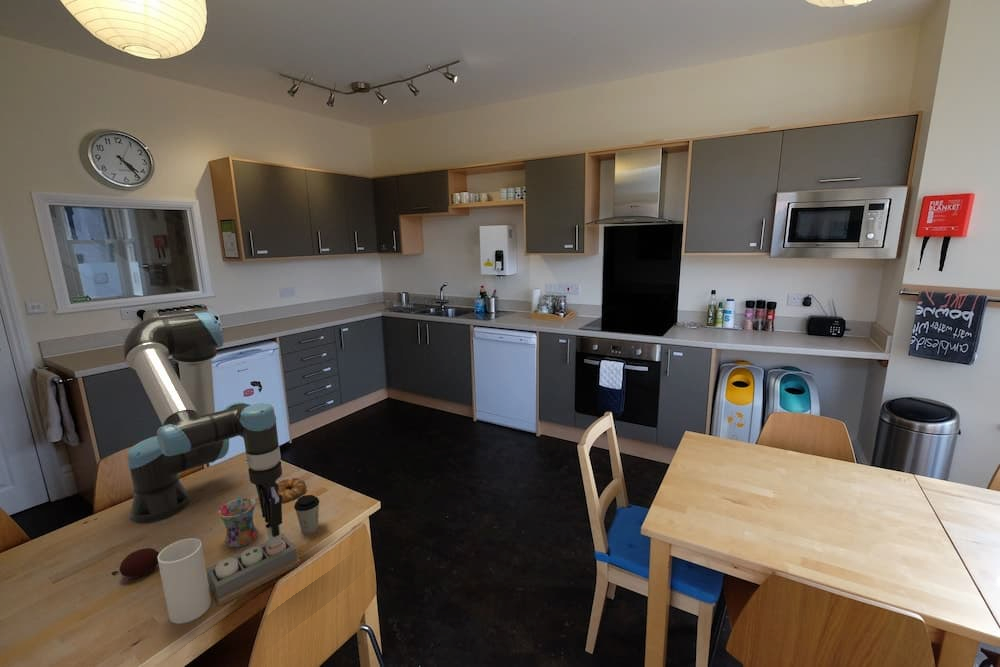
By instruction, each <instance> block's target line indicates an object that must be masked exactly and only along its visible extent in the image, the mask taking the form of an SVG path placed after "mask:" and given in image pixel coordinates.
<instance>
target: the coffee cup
mask: <svg viewBox="0 0 1000 667" xmlns="http://www.w3.org/2000/svg"><path fill="white" fill-rule="evenodd" d="M319 505H320V499H319V498H318V497H317V496H315V495H313V494H307V495H306V494H305V495H302V496H299V497H298V498H297V500H296V502H295V503H294V507H293V508H294V510H295V512H296V516H297V519H298V520H297V521H298V524H299V528H300V531H301V533H302V534H303V535H311V534H314V533H315V532H317V530H319V509H320V507H319Z"/></svg>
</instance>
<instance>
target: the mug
mask: <svg viewBox="0 0 1000 667" xmlns="http://www.w3.org/2000/svg"><path fill="white" fill-rule="evenodd" d="M256 504H257V503H256V500H255V499H253V498H252V497H251V498H249V497H241V498H237V499H234V500H231V501H229V502H226V503H225V504H223V505H222V506H221V507H220V508H219V509H218V511H217V514H218V516H219V517H220V518H221V520H222V522H223V523H224V525H225V530H226V536H225V539H224V545H225V546H227V547H229V548H239V547H244V546H246V545H248V544H249V543H251V542H253V541H254V540H255V539H256V538H257V537H258V536H259V535H258V534H259V530H258V529H257V527H256V526H255V524H254V520H253V519H254V510H255V507H256Z"/></svg>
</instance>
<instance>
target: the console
mask: <svg viewBox="0 0 1000 667" xmlns="http://www.w3.org/2000/svg"><path fill="white" fill-rule="evenodd" d="M281 540H284V541H285V543H286V549H285V550H283V551H281V552H279V553H276V554H274V555H272V556H270V557H268V555H267V554H266V546H267V545H268V544H269V540H266V541H264V542H262V543H259V544H257V545H255V546H254V547H261V548H262V553H263V560H262V561H260V562H258V563H256V564H254V565H251V566H249V567H247V568H245V569H244V568H243V566H242V560H241V554H242V553H243V552H244V551H241V552H239V553H238V554H235V555H233V556H230V558H236V559H237V561H238V568H239V572H237V573H235V574H233V575H231V576H229V577H226V578H224V579H222V580H220V581H217V577H216V571H215V567H216V565H217V564H218V563H219V562H217V563H216V564H213V565H211V566H209V567H206V572H207V578H208V584H209V589H210V591H211V593H212V594H213V597H214V598H215V601H216V602H217V605H218V606H219V607H221V606H223V605H225V604H227V603H229V602H231V601H233V600H234V599H237V598H239V597H240V596H243V595H244V594H247V593H249V592H250V591H252V590H254V589H256V588H258V587H260V586H261V585H263V584H266V583H268V582H270V581H272V580H274V579H275V578H277V577H279V576H282V575H283V574H285V573H287V572H289V571H291V570H293V569H295V568H296V567H299V566H300V564H301V560H300V559H299V558H298V556H297V555H298V554H297V549H296V547H295V546H294V545H293V544H292V542H291V541H290V539H288V537H287V536H286V535H285V534H284V533H282V534H281ZM298 565H299V566H298Z"/></svg>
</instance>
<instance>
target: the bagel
mask: <svg viewBox="0 0 1000 667" xmlns="http://www.w3.org/2000/svg"><path fill="white" fill-rule="evenodd" d="M277 484H278V488H279V490H278V495H282V504H284V503H285V504H286V503H289V502H291V501H292V500H294V499H299V498H300V497H301V495H303V494H304V493H305V492H306V490H307V489H306V482H305V481H303V480H301V478H297V477H294V478H293V477H292V478H291V479H288V478H287V479H283V480H281V481H279V482H277Z"/></svg>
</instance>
